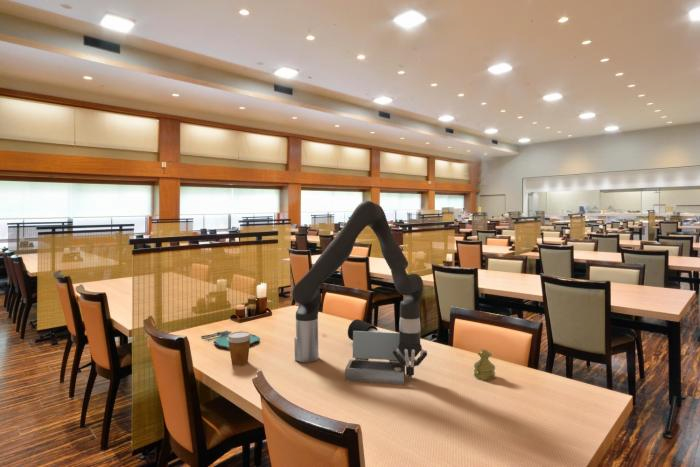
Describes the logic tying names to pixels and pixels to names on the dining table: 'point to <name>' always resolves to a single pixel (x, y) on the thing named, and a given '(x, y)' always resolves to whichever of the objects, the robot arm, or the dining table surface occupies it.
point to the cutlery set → (223, 340)
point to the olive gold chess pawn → (484, 367)
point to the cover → (375, 345)
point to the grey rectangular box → (374, 372)
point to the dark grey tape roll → (398, 370)
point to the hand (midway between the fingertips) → (409, 376)
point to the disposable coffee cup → (239, 347)
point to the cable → (360, 327)
